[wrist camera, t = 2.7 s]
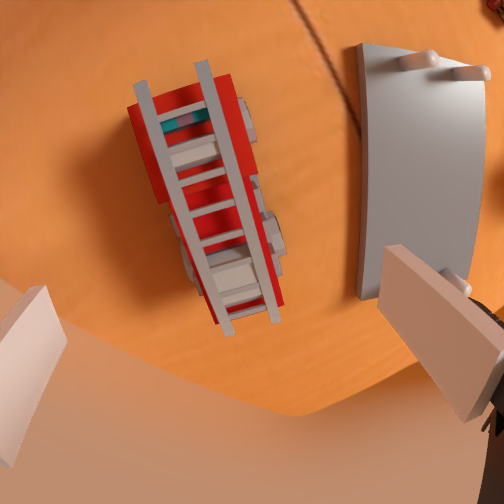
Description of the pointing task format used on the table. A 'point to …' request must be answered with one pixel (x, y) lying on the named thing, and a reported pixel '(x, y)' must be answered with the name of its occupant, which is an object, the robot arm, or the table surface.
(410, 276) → the robot arm
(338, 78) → the table surface
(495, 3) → the toy garden set
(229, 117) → the toy fire truck
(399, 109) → the pin tray
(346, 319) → the table surface
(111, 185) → the table surface
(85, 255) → the table surface
